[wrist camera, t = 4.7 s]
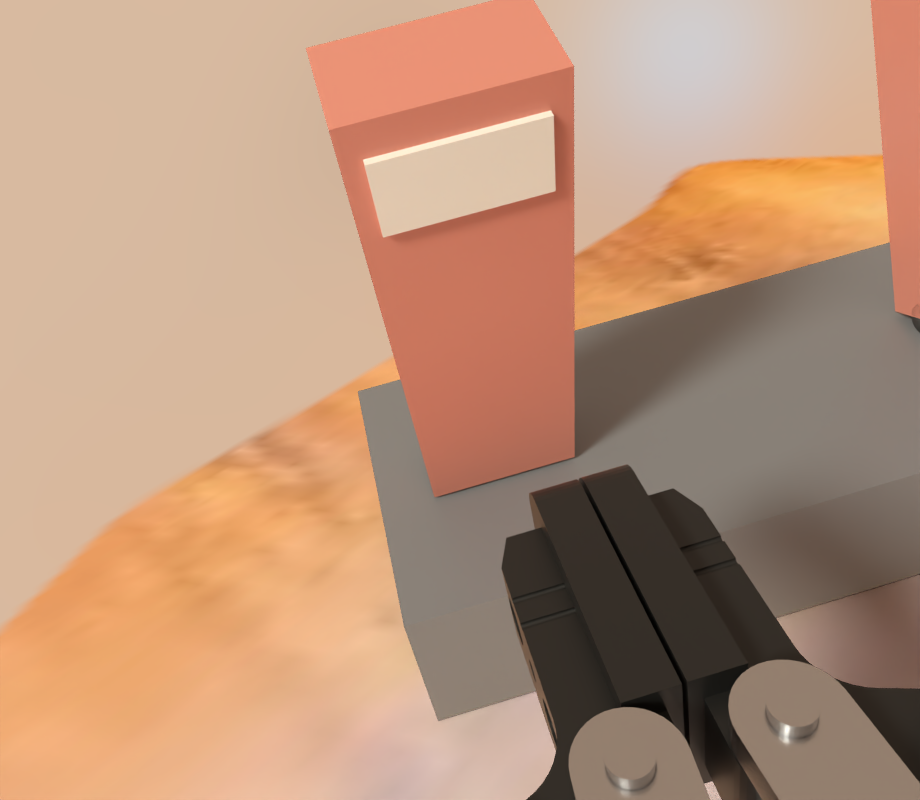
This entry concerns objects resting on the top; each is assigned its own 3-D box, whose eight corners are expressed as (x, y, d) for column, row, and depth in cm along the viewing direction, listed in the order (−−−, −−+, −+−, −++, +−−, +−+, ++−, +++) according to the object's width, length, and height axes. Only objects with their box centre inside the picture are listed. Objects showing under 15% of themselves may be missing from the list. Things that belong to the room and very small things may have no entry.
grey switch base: (948, 312, 32) (967, 216, 29) (1197, 489, 23) (1252, 374, 21) (385, 473, 30) (356, 386, 28) (438, 720, 22) (404, 626, 20)
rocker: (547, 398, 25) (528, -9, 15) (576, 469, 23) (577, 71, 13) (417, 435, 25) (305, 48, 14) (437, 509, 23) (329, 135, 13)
